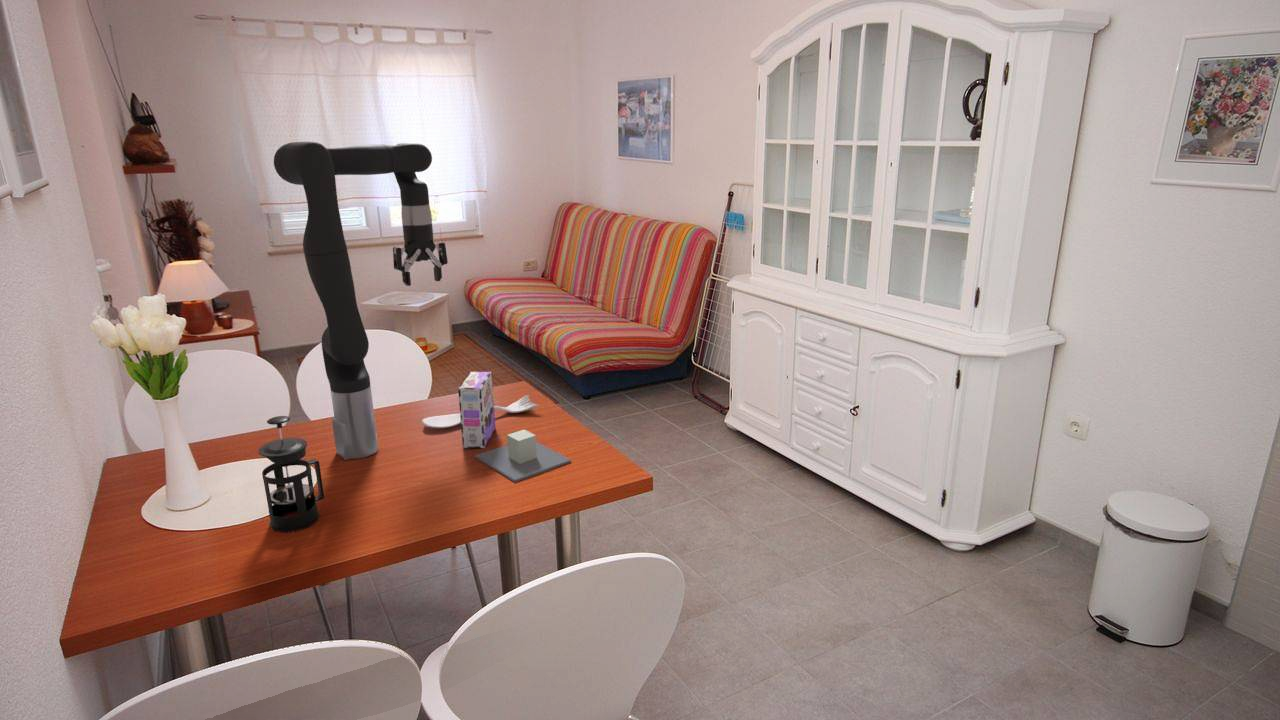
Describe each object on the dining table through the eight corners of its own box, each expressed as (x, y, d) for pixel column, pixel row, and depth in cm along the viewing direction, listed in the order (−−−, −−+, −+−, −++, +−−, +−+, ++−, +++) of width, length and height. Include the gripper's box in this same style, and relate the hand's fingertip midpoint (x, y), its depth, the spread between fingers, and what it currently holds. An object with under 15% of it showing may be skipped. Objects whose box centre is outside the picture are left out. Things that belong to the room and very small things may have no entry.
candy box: (485, 449, 188) (480, 388, 183) (462, 449, 188) (456, 388, 183) (496, 428, 201) (492, 370, 196) (474, 427, 201) (470, 370, 196)
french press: (279, 539, 147) (260, 432, 140) (258, 523, 153) (240, 420, 146) (335, 516, 155) (320, 414, 148) (314, 502, 161) (299, 404, 154)
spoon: (540, 414, 211) (539, 403, 210) (427, 436, 196) (426, 424, 195) (529, 404, 218) (528, 393, 217) (419, 424, 204) (418, 413, 203)
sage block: (519, 463, 178) (518, 440, 176) (508, 457, 181) (506, 434, 179) (536, 457, 181) (535, 435, 179) (525, 451, 185) (524, 429, 183)
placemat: (514, 482, 170) (514, 479, 170) (475, 457, 183) (475, 455, 183) (570, 462, 180) (570, 459, 180) (529, 440, 193) (529, 437, 193)
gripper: (435, 218, 201) (440, 277, 206) (385, 223, 192) (391, 284, 197) (448, 221, 195) (453, 281, 200) (397, 226, 186) (403, 289, 191)
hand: (422, 283), depth 199 cm, fingers open, 8 cm apart
